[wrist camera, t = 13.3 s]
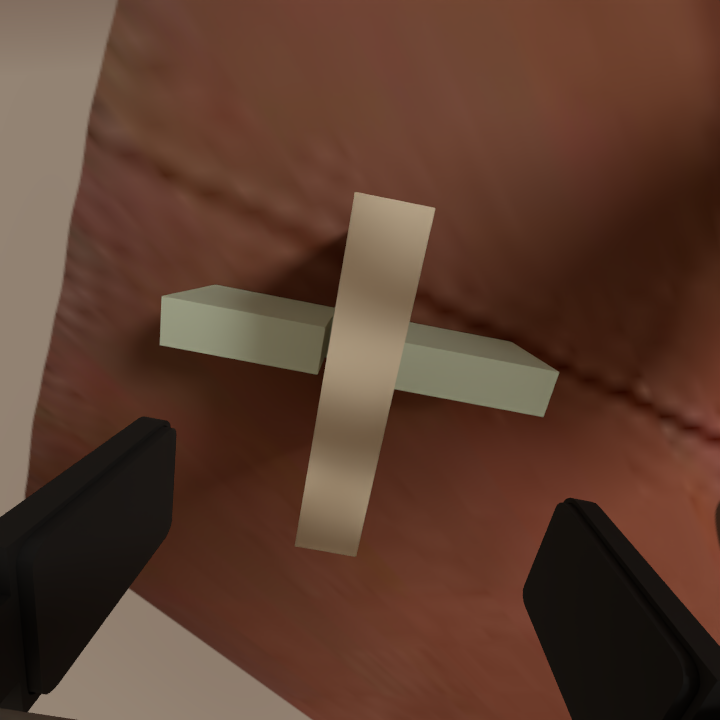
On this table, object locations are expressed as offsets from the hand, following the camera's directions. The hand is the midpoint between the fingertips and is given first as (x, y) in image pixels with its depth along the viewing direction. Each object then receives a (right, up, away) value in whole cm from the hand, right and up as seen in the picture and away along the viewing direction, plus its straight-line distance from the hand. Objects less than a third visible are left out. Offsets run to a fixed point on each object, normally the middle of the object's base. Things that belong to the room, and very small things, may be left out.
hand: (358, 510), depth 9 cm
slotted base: (0, +6, +21) cm, 22 cm away
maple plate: (0, +6, +21) cm, 22 cm away
